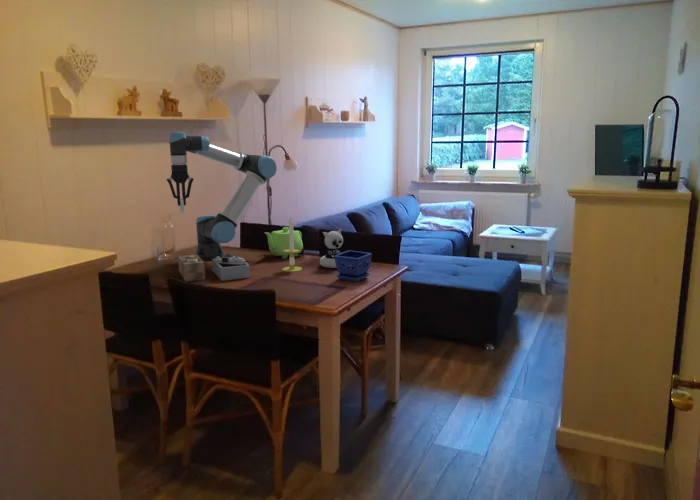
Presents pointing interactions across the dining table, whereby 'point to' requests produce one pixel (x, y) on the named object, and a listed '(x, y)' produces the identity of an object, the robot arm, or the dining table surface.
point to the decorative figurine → (332, 248)
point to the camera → (230, 261)
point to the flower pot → (353, 265)
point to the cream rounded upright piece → (192, 260)
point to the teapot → (283, 242)
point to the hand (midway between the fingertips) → (182, 212)
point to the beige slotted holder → (191, 267)
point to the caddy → (231, 271)
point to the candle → (291, 250)
